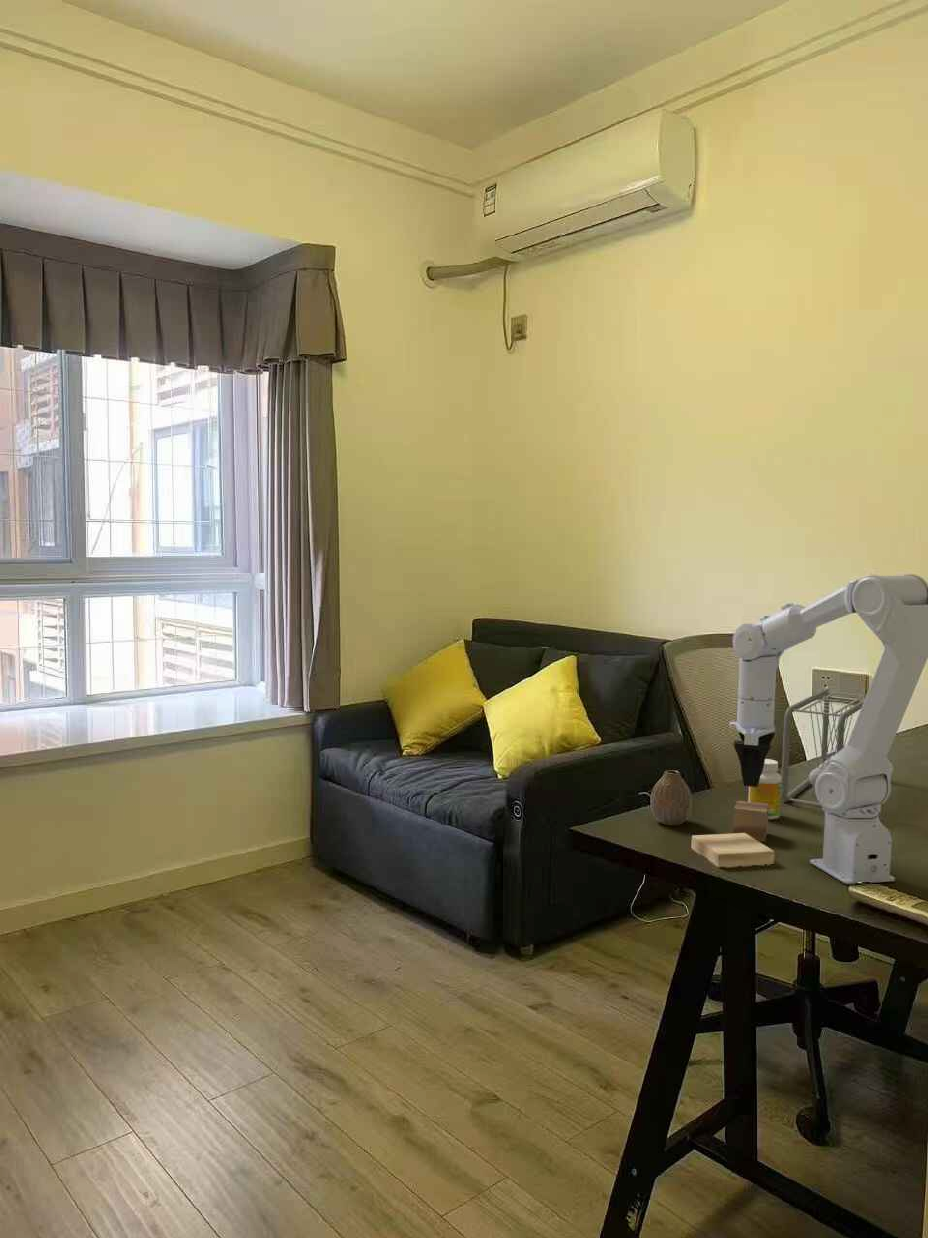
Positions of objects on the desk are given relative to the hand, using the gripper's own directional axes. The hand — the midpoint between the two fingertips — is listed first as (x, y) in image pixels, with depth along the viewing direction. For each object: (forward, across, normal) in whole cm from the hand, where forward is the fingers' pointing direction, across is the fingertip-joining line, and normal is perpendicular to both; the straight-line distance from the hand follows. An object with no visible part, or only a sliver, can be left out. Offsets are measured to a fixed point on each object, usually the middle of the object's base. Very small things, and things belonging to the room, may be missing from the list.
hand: (752, 780), depth 160 cm
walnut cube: (+9, 0, 0) cm, 9 cm away
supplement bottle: (+9, -13, +1) cm, 16 cm away
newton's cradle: (+10, -35, +12) cm, 39 cm away
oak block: (+10, +12, -2) cm, 15 cm away
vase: (+9, -2, -13) cm, 16 cm away
